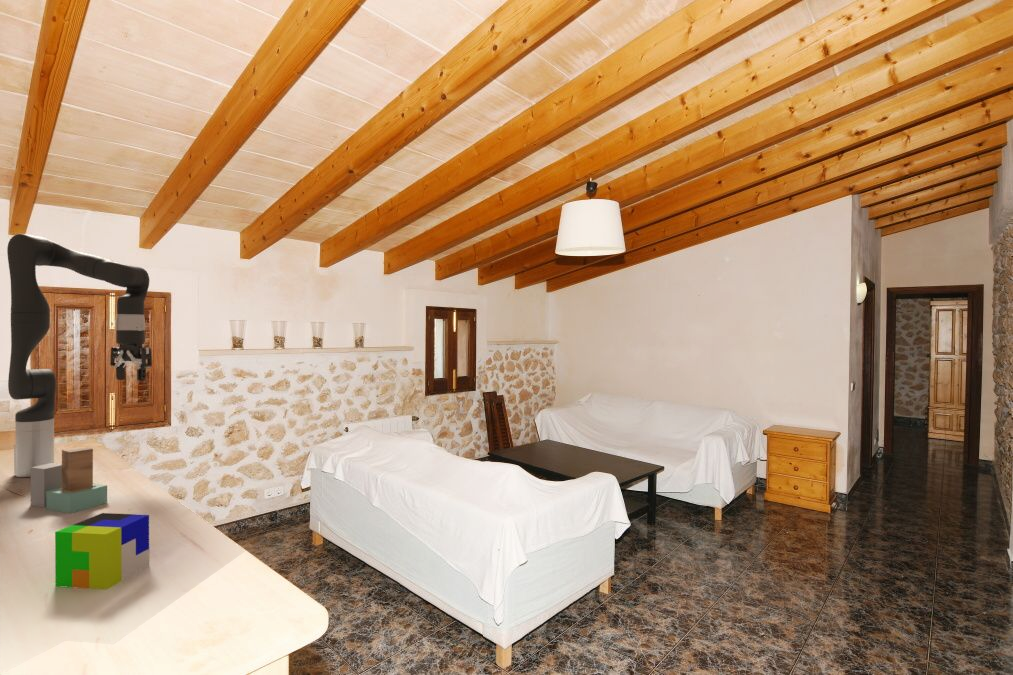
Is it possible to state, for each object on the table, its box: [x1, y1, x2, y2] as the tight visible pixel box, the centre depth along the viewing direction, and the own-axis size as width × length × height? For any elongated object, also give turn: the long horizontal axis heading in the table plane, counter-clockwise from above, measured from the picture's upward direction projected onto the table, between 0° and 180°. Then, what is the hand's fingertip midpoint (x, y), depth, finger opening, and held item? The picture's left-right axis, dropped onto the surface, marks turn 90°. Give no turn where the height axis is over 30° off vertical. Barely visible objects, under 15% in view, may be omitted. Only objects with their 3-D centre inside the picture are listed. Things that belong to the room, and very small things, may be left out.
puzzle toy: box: [54, 512, 150, 590], centre depth 101 cm, size 10×10×10 cm
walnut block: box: [61, 445, 94, 491], centre depth 140 cm, size 5×5×10 cm
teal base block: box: [45, 482, 108, 514], centre depth 140 cm, size 9×9×5 cm
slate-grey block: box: [30, 462, 62, 508], centre depth 141 cm, size 5×5×10 cm
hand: (131, 380), depth 168 cm, fingers open, 8 cm apart
